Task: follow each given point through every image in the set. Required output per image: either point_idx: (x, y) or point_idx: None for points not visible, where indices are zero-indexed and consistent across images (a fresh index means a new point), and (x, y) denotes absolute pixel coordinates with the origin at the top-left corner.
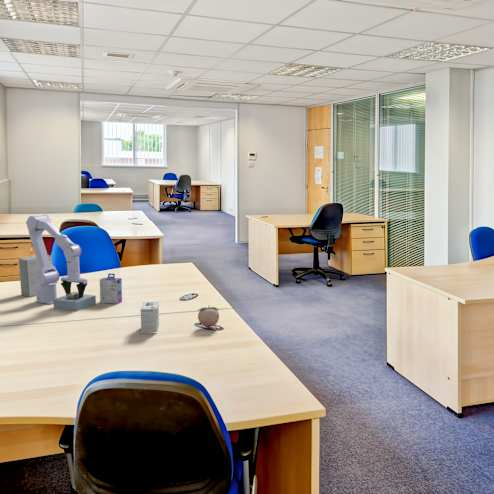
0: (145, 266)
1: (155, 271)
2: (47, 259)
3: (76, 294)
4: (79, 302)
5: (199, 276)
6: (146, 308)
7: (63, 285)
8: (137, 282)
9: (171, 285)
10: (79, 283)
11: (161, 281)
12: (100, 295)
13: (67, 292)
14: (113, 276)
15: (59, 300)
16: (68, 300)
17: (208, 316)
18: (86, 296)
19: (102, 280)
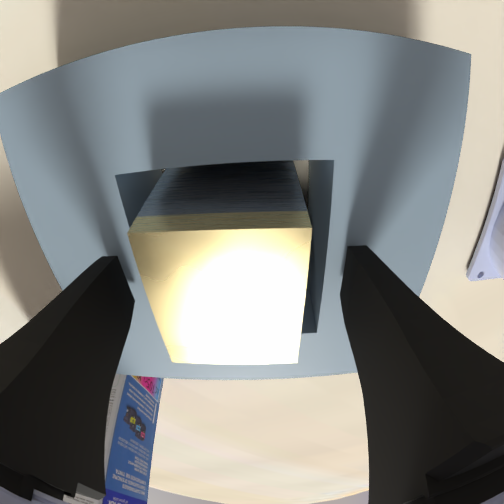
0: (342, 496)
1: (296, 497)
2: None
3: (150, 291)
4: (13, 146)
5: (175, 493)
6: None
7: (486, 389)
8: (269, 480)
9: (156, 474)
10: (16, 478)
11: (214, 485)
12: (117, 388)
13: (366, 296)
14: None
15: (345, 29)
16: (171, 89)
17: None
18: (150, 342)
19: (78, 500)
